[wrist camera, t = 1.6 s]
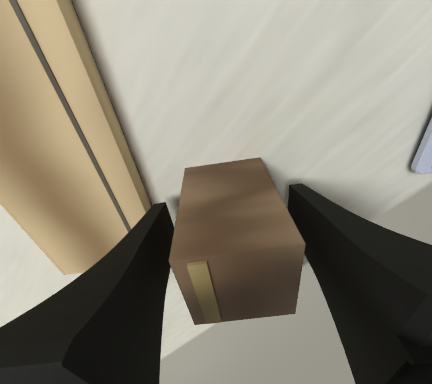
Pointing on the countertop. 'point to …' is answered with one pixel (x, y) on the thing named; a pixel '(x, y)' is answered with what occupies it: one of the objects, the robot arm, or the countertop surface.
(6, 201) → the oak board
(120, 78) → the countertop surface
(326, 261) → the robot arm
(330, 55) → the countertop surface
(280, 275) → the block
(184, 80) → the countertop surface
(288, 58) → the countertop surface
